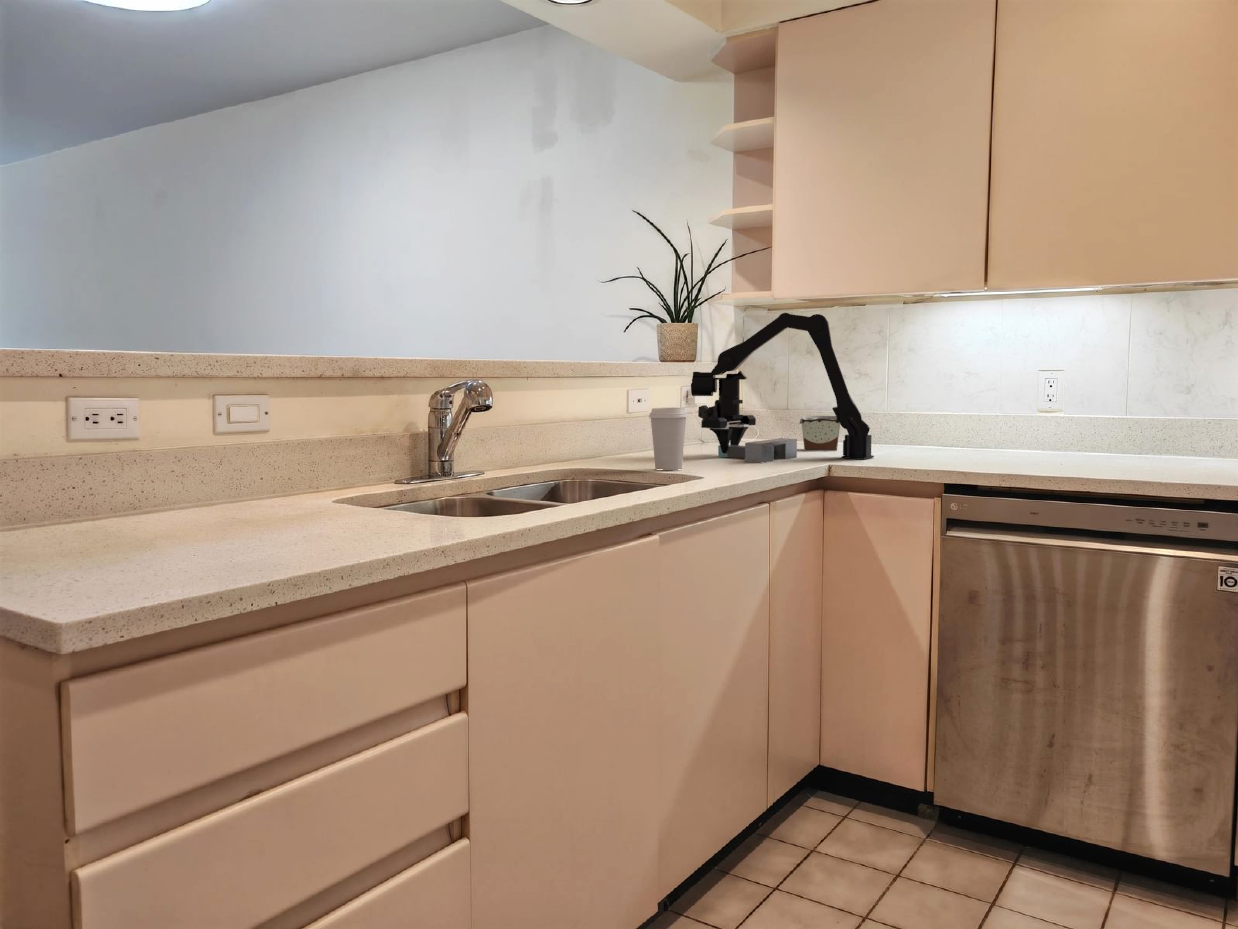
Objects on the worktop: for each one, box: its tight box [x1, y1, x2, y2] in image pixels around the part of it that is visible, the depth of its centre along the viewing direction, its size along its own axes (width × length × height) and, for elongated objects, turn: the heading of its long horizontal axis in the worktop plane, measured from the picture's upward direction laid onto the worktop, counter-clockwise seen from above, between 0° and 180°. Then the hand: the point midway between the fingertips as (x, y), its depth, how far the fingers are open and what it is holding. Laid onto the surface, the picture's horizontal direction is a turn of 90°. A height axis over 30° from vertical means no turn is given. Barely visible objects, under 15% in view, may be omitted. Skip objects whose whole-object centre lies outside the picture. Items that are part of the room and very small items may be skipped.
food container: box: [798, 415, 841, 452], centre depth 266 cm, size 12×6×10 cm, turn 84°
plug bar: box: [717, 444, 745, 459], centre depth 248 cm, size 13×4×3 cm, turn 48°
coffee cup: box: [648, 407, 689, 471], centre depth 221 cm, size 10×10×15 cm
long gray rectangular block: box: [744, 437, 798, 463], centre depth 242 cm, size 5×18×5 cm, turn 139°
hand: (728, 452), depth 251 cm, fingers closed on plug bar, 4 cm apart
